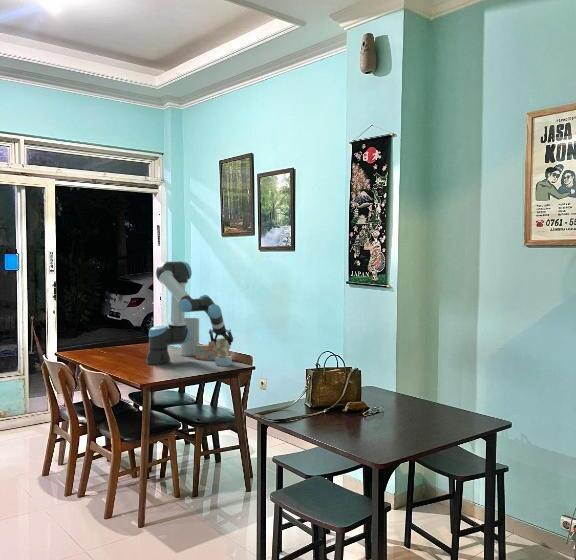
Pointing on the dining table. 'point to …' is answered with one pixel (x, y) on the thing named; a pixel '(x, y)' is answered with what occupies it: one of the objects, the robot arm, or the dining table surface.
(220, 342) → the pillar
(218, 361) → the base block
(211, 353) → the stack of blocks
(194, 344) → the cylinder vase
